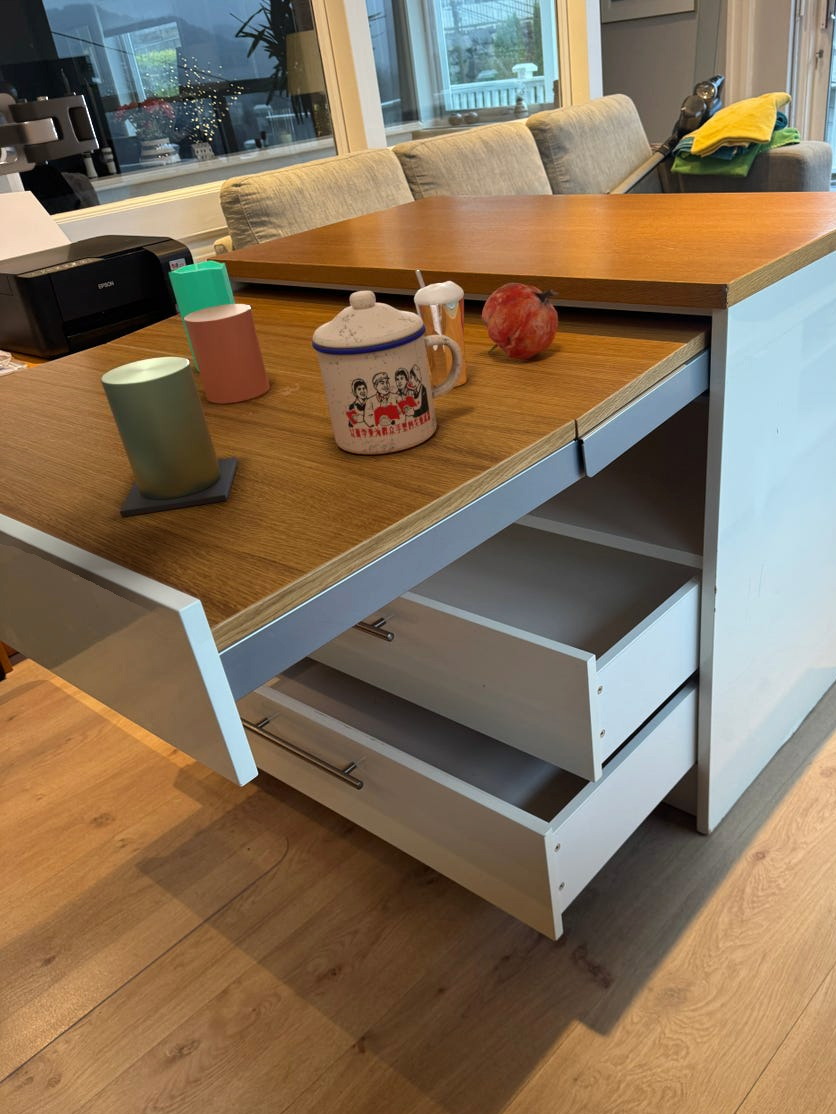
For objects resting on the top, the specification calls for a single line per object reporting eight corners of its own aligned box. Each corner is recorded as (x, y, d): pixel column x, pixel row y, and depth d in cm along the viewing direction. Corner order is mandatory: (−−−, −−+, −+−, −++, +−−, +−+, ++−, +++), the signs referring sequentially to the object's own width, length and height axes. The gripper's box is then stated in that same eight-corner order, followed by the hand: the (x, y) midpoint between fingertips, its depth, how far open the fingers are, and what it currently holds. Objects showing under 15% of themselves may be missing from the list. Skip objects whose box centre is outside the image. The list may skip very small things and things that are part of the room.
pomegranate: (483, 389, 91) (544, 332, 83) (447, 325, 90) (505, 263, 83) (528, 374, 95) (590, 320, 88) (494, 314, 95) (553, 255, 88)
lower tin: (203, 407, 89) (179, 325, 84) (211, 388, 94) (189, 309, 90) (267, 398, 89) (246, 315, 84) (272, 379, 94) (252, 300, 90)
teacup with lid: (348, 466, 71) (316, 315, 65) (322, 432, 78) (292, 294, 72) (487, 431, 74) (471, 284, 68) (451, 402, 81) (433, 266, 75)
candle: (212, 376, 98) (179, 259, 91) (187, 368, 102) (153, 256, 95) (259, 360, 101) (230, 247, 94) (233, 353, 105) (204, 244, 98)
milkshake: (451, 371, 89) (437, 264, 84) (483, 380, 86) (470, 270, 80) (413, 383, 87) (396, 275, 82) (444, 394, 84) (428, 281, 78)
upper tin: (132, 505, 68) (91, 389, 63) (148, 473, 73) (111, 364, 69) (216, 492, 68) (181, 375, 63) (226, 461, 74) (194, 351, 69)
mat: (121, 517, 68) (119, 511, 67) (141, 476, 74) (140, 471, 74) (226, 500, 68) (225, 494, 68) (237, 462, 75) (236, 456, 74)
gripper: (-61, 34, 35) (104, 34, 48) (-392, 81, 36) (-142, 69, 49) (16, 242, 39) (148, 189, 52) (-283, 277, 40) (-80, 216, 54)
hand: (7, 130), depth 51 cm, fingers open, 8 cm apart
